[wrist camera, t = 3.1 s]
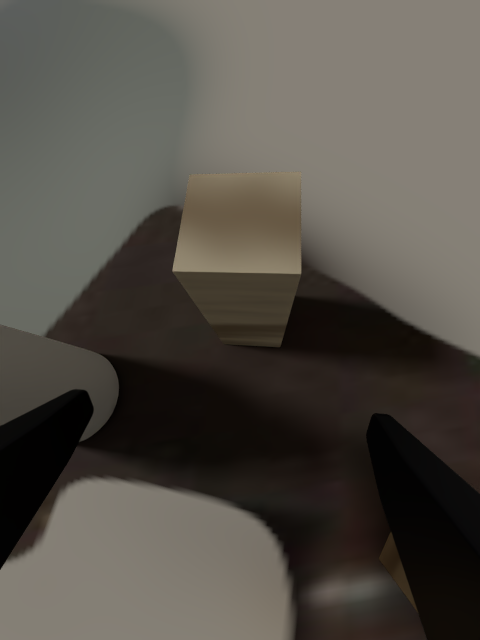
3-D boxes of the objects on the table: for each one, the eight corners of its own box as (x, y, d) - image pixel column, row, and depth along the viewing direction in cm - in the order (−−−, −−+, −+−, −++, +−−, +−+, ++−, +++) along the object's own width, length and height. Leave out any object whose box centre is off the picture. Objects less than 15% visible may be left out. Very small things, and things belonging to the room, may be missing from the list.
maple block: (280, 347, 22) (300, 273, 9) (223, 344, 22) (172, 271, 10) (281, 294, 23) (300, 171, 11) (228, 292, 24) (189, 174, 11)
